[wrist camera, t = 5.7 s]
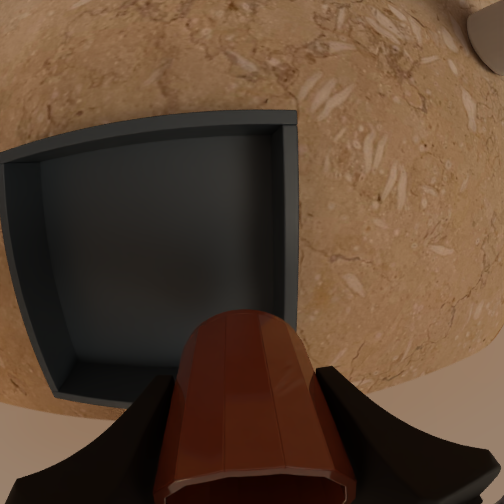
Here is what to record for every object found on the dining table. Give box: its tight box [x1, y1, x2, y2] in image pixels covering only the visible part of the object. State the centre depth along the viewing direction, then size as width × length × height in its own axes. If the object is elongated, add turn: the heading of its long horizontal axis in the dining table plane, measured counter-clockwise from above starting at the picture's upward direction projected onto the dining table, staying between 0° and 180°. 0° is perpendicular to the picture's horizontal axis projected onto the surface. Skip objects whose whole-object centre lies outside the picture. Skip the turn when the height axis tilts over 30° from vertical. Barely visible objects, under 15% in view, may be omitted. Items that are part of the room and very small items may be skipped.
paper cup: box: [153, 309, 357, 504], centre depth 8 cm, size 5×5×7 cm
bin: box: [0, 110, 299, 409], centre depth 16 cm, size 16×16×5 cm
